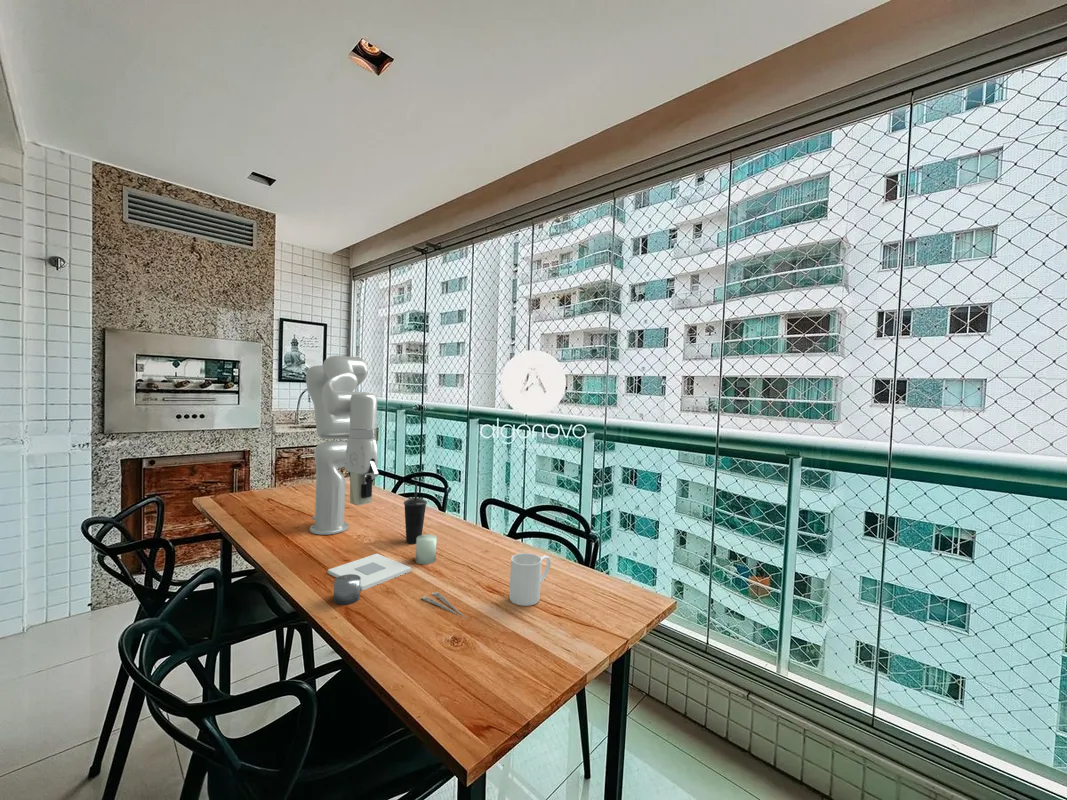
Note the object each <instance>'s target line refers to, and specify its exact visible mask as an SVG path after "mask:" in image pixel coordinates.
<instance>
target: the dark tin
mask: <svg viewBox="0 0 1067 800" xmlns="http://www.w3.org/2000/svg"><path fill="white" fill-rule="evenodd" d="M360 580H361V578H360V576H358V575H354V574H347V575H342V576H339V577H337V578H336V577H335V579H334V582H333V603H334V604H335V605H338V606H349V605H353V604H355V603H357V602H358V601H359V600H360V599H361V590H360Z"/></svg>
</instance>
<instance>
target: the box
mask: <svg viewBox="0 0 1067 800" xmlns="http://www.w3.org/2000/svg"><path fill="white" fill-rule="evenodd" d="M367 473H369V471H368V472H367ZM368 476H369V475H366V478H367V477H368ZM362 484H363V479H362V475H360V474H357V473H351V472H350V476H349V503H350V504H351V505H354V506H363V505H366V504H367V505H368V504H370V503H371V504H372V503H373V495H372V496H371V497H366V498H361V485H362Z"/></svg>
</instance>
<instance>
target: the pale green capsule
mask: <svg viewBox="0 0 1067 800" xmlns="http://www.w3.org/2000/svg"><path fill="white" fill-rule="evenodd" d="M437 538H438V537H437V536H436V535H434V534H422V535H420V536H418V537H417V541H416V544H415V545H416V546H415V547H416V548H415V562H416V564H419V565H430V564H434V563H436V560H437Z"/></svg>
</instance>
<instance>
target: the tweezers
mask: <svg viewBox="0 0 1067 800" xmlns="http://www.w3.org/2000/svg"><path fill="white" fill-rule="evenodd" d="M430 595H431V596H435V597H436V598H438V599H439V598H440V599H439V600H440V601H441V602H443V603H444V604H445V603H446V604H445V605H443V603H440V602H438V601H437V600H435V599H432V598H430V597H428V596H426V595H424V596H423V595H422V597H421V598H420V599H421V600H422V599H423V601H425V602H427V601H428V602H427V603H430V604H432V605H435V606H438V607H439V606H440V607H439V608H441V609H444V610H447V611H449V612H451V613H453V614H454V613H455V614H454V615H456V614H457V615H456V616H458V615H459V617H460V616H461V617H463V618H465V617H466V616H465V615H463V613H462V612H460V610H458V609H457V608H456V607H455V606H454V605H453V604H452V603H450V602H449V600H448V599H447V598H446V597H445V596H443V595H442V594H441V593H439V592H438V591H436V592H431V593H430ZM446 605H447V606H448V605H449V606H448V607H447V606H446ZM449 607H450V608H449ZM452 608H453V609H452ZM457 612H458V613H457Z"/></svg>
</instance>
